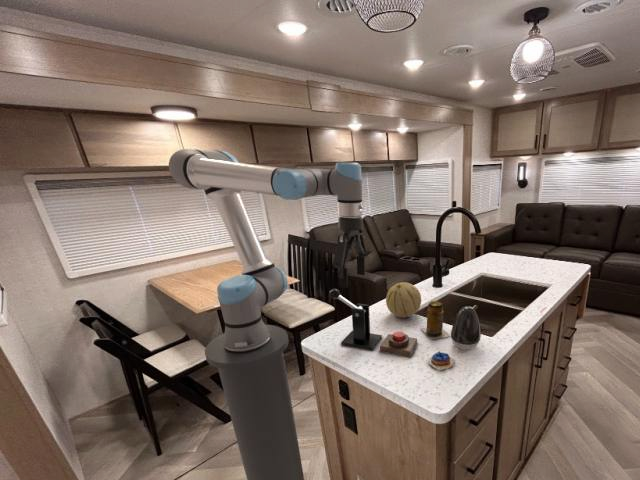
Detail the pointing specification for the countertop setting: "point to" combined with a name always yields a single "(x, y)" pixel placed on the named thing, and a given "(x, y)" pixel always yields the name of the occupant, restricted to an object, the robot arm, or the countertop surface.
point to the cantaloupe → (403, 299)
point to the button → (398, 336)
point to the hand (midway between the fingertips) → (352, 280)
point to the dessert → (441, 361)
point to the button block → (398, 345)
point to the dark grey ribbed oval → (466, 329)
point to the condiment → (435, 321)
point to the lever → (343, 299)
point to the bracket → (361, 330)
